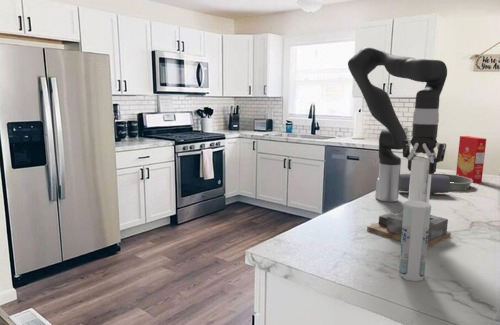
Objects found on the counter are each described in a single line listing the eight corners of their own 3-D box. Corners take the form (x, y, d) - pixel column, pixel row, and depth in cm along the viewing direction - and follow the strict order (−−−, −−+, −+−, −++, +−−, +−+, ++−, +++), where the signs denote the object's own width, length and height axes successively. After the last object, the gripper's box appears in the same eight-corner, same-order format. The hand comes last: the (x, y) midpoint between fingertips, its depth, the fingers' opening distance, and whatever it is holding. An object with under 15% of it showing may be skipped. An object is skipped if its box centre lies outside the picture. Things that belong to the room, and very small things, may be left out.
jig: (366, 230, 133) (368, 213, 132) (394, 220, 144) (395, 204, 143) (423, 249, 117) (425, 229, 116) (450, 236, 128) (452, 218, 126)
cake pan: (471, 193, 186) (472, 185, 185) (418, 187, 199) (419, 179, 198) (472, 184, 207) (473, 176, 206) (424, 179, 219) (425, 171, 219)
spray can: (397, 268, 103) (402, 199, 100) (422, 271, 101) (428, 201, 98) (399, 279, 97) (405, 206, 94) (426, 283, 95) (433, 208, 92)
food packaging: (455, 177, 224) (459, 136, 220) (463, 177, 224) (468, 136, 220) (472, 182, 209) (477, 138, 205) (481, 182, 210) (486, 138, 206)
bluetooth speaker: (443, 192, 188) (445, 173, 186) (449, 197, 179) (451, 177, 177) (396, 190, 192) (397, 171, 190) (400, 195, 183) (401, 175, 181)
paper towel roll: (426, 226, 129) (432, 155, 125) (426, 232, 123) (433, 158, 119) (406, 223, 132) (412, 154, 128) (405, 229, 126) (411, 157, 122)
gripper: (398, 121, 125) (395, 170, 128) (442, 124, 113) (437, 177, 116) (410, 120, 129) (407, 167, 132) (453, 123, 118) (448, 174, 121)
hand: (421, 172), depth 124 cm, fingers closed on paper towel roll, 6 cm apart
